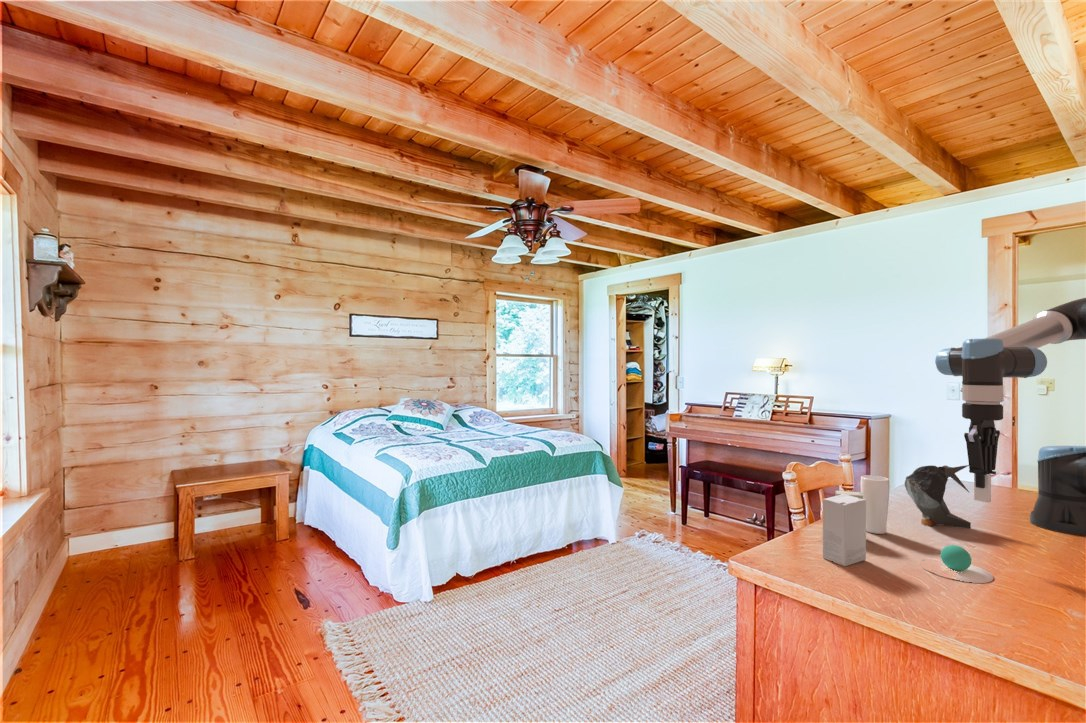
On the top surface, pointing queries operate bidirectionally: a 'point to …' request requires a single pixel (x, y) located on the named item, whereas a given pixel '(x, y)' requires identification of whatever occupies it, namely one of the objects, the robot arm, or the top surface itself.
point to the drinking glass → (875, 502)
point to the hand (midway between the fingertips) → (982, 500)
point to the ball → (955, 557)
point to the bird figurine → (934, 494)
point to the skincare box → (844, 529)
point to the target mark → (974, 575)
